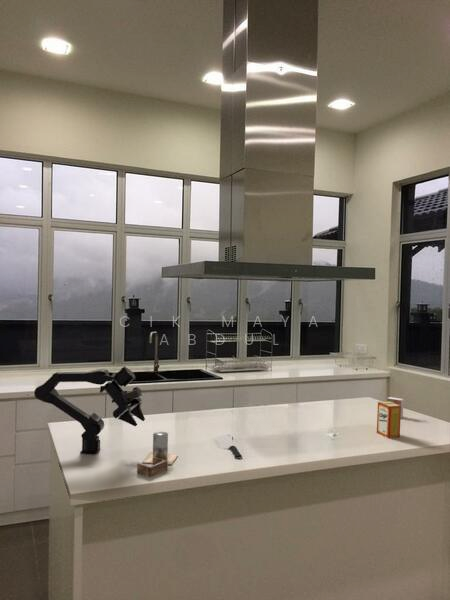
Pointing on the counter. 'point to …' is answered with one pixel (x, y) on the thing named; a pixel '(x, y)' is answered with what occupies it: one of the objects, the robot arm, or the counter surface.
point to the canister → (160, 445)
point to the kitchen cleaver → (228, 444)
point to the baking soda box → (388, 419)
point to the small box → (398, 402)
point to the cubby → (152, 467)
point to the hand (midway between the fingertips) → (140, 422)
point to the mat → (170, 459)
